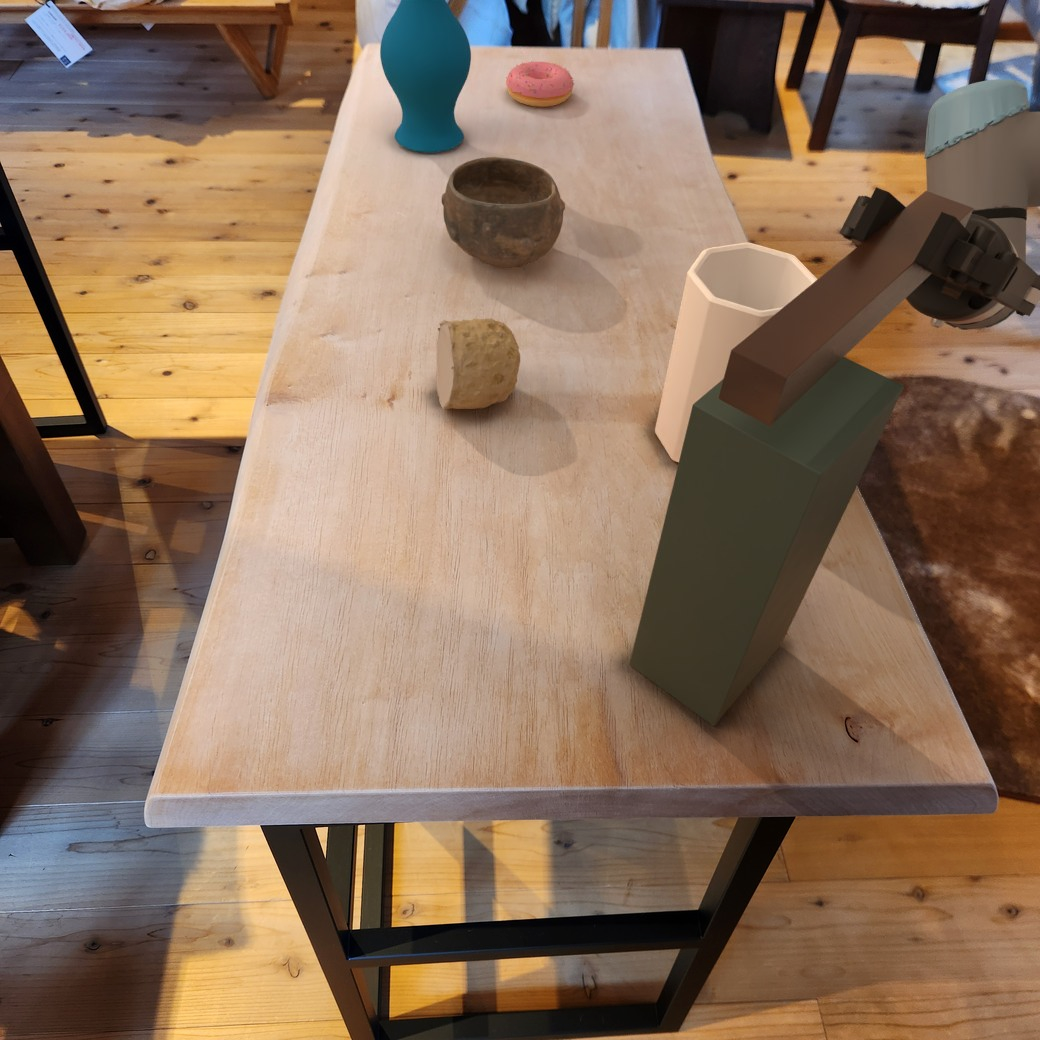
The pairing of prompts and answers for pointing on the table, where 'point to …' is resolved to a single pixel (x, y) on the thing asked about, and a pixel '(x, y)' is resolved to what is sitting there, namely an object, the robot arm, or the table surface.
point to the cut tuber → (475, 363)
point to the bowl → (502, 211)
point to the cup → (721, 323)
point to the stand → (751, 531)
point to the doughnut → (539, 84)
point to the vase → (426, 72)
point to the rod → (832, 314)
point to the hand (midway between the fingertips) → (901, 226)
